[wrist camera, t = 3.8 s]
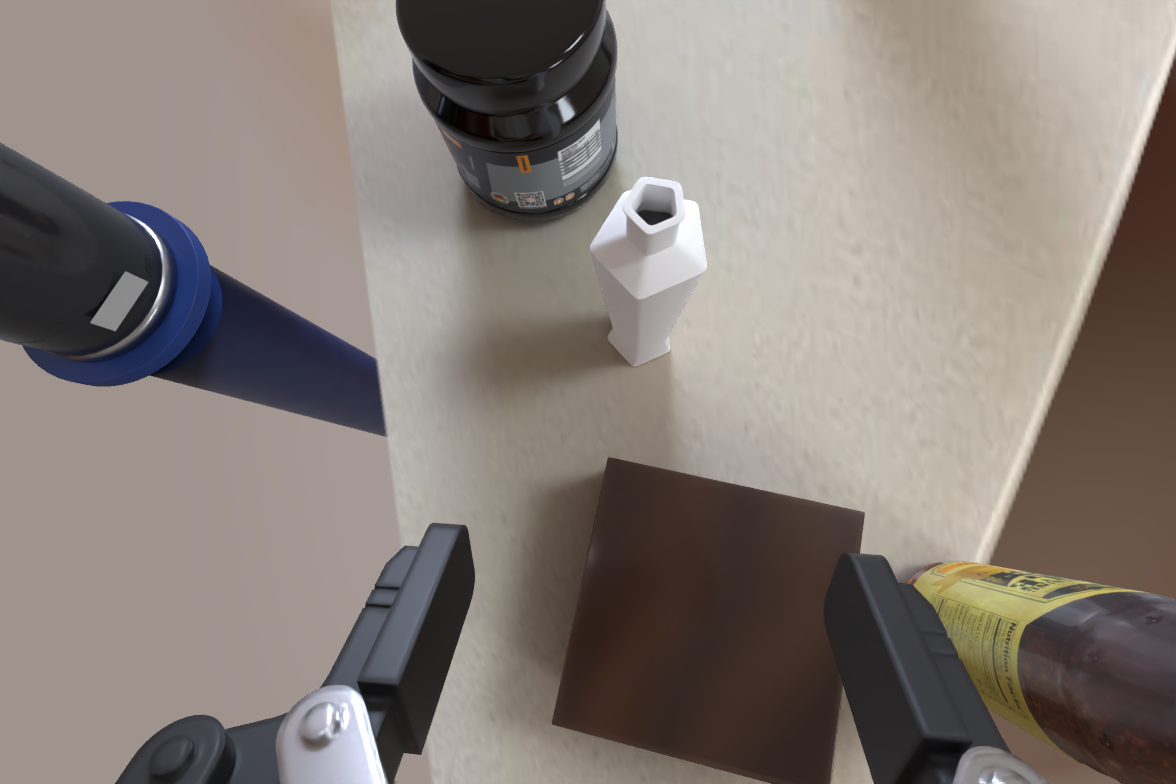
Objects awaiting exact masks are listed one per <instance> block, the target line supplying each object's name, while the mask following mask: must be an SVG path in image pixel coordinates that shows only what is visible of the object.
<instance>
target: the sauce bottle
mask: <svg viewBox="0 0 1176 784" xmlns="http://www.w3.org/2000/svg"><path fill="white" fill-rule="evenodd" d="M906 584H912V585H913V586H914V587H915V588H916V589H917V590H918V591H919V592H920V593H921V594H922V595H923V596H924V597H925V598H926V599H927V600H928V601H929V602H930V603H931V604H932V605H933V607H934V608H935V610H936V612H937V614H938V616H939V618H940V619H941V621H942V623H943V625H944V627H945V629H946V631H947V636H948V638H950V639H951V641H952V643H953V644H954V646H955V648H956V650H957V652H958V658H959V659H961V660H962V662H963V664H964V666H965V668H966V669H967V671H968V673H969V675H970V677H971V679H972V681H973V683H974V685H975V687H976V689H977V691H978V692H979V694H980V696H981V698H982V700H983V702H984V704H985V706H986V708H987V709H989V710H991V711H992V712H994V713H996V714H998V715H999V716H1001V717H1003V718H1004V719H1006V720H1008V721H1009V722H1011V723H1013V724H1015V725H1016V726H1018V727H1020V728H1021V729H1023V730H1025V731H1026V732H1028V733H1030V734H1032V735H1033V736H1035V737H1036V738H1038V739H1040V740H1042V741H1043V742H1045V743H1047V744H1049V745H1050V746H1052V747H1054V748H1055V749H1057V750H1059V751H1060V752H1062V753H1064V754H1066V755H1067V756H1069V757H1070V758H1072V759H1074V760H1076V761H1077V762H1080V763H1082V764H1085V765H1087V766H1089V767H1090V768H1092V769H1094V770H1096V771H1098V772H1100V773H1102V774H1105V775H1108V776H1110V777H1112V778H1114V779H1116V780H1117V781H1119V782H1120V783H1121V784H1176V600H1175V599H1172V598H1170V597H1166V596H1162V595H1158V594H1153V593H1147V592H1141V591H1136V590H1130V589H1125V588H1119V587H1113V586H1107V585H1101V584H1095V583H1089V582H1084V581H1080V580H1074V579H1068V578H1061V577H1055V576H1050V575H1043V574H1036V573H1031V572H1025V571H1021V570H1015V569H1009V568H1003V567H997V566H991V565H985V564H979V563H973V562H966V561H954V562H948V563H934V564H930V565H928V566H927V567H925V568H924V569H922V570H920V571H918V572H917V573H916V574H915V575H914V576H912V578H911V579H910V580H909V581H908V582H907V583H906Z"/></svg>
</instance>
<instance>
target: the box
mask: <svg viewBox="0 0 1176 784" xmlns="http://www.w3.org/2000/svg"><path fill="white" fill-rule="evenodd" d="M864 515H865V513H864V512H861V511H856V510H851V509H847V508H842V507H838V506H833V505H828V504H824V503H819V502H814V501H810V500H805V499H800V498H796V497H791V496H787V495H782V494H777V493H773V492H768V491H763V490H759V489H754V488H750V487H745V486H740V485H736V484H731V483H726V482H722V481H717V480H712V479H708V478H703V477H699V476H694V475H689V474H685V473H680V472H675V471H671V470H666V469H661V468H657V467H652V466H648V465H643V464H638V463H634V462H629V461H624V460H620V459H615V458H611V457H608V460H607V465H606V470H605V474H604V479H603V484H602V488H601V493H600V498H599V503H598V507H597V512H596V517H595V522H594V526H593V531H592V536H591V540H590V545H589V550H588V555H587V559H586V564H585V569H584V574H583V578H582V583H581V588H580V592H579V597H578V602H577V607H576V611H575V616H574V621H573V626H572V630H571V635H570V640H569V644H568V649H567V654H566V659H565V663H564V668H563V673H562V677H561V682H560V687H559V692H558V696H557V701H556V706H555V711H554V715H553V720H552V724H553V725H556V726H560V727H564V728H567V729H571V730H575V731H578V732H582V733H586V734H590V735H593V736H597V737H601V738H605V739H608V740H612V741H616V742H619V743H623V744H627V745H631V746H634V747H638V748H642V749H645V750H649V751H653V752H657V753H660V754H664V755H668V756H671V757H675V758H679V759H683V760H686V761H690V762H694V763H697V764H701V765H705V766H709V767H712V768H716V769H720V770H723V771H727V772H731V773H735V774H738V775H742V776H746V777H749V778H753V779H757V780H761V781H764V782H768V783H772V784H831V779H832V771H833V763H834V755H835V747H836V739H837V731H838V723H839V715H840V707H841V699H842V691H843V683H842V679H841V676H840V673H839V670H838V667H837V663H836V660H835V657H834V654H833V651H832V647H831V644H830V641H829V638H828V635H827V631H826V628H825V622H824V600H825V597H826V594H827V591H828V588H829V585H830V582H831V580H832V577H833V574H834V571H835V568H836V565H837V563H838V560H839V557H840V556H841V554H842V553H856V554H860V547H861V539H862V531H863V523H864Z"/></svg>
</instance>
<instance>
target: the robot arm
mask: <svg viewBox="0 0 1176 784" xmlns="http://www.w3.org/2000/svg"><path fill="white" fill-rule="evenodd" d="M177 278H178V273H177V264H176V260H175V257H174V254H173V251H172V249H171V247H170V246H169V244H168V242H167V241H166V240H165V238H164V237H163V236H162V235H161V234H160V233H158V232H157V231H156V230H155V229H153V228H152V227H150V226H148V225H147V224H145V223H143V222H141V221H140V220H138V219H136V218H134V217H132V216H130V215H127V214H124V213H122V212H121V211H119V210H117V209H115V208H114V207H112V206H110V205H108V204H107V203H105V202H103V201H101V200H100V199H98V198H96V197H94V196H93V195H91V194H89V193H88V192H86V191H84V190H83V189H81V188H79V187H77V186H76V185H74V184H72V183H70V182H68V181H67V180H65V179H63V178H62V177H60V176H57V175H56V174H55V173H53V172H51V171H49V170H48V169H46V168H44V167H42V166H41V165H39V164H37V163H35V162H33V161H32V160H30V159H28V158H26V157H25V156H23V155H21V154H20V153H18V152H16V151H14V150H13V149H11V148H9V147H7V146H5V145H4V144H2V143H0V340H4V341H8V342H12V343H15V344H20V345H23V346H27V347H31V348H35V349H39V350H43V351H45V352H47V353H50V354H52V355H56V356H59V357H63V358H67V359H71V360H75V361H81V362H99V361H105V360H110V359H113V358H116V357H119V356H121V355H124V354H126V353H128V352H130V351H131V350H133V349H135V348H136V347H138V346H139V345H141V344H142V343H143V342H144V341H146V340H147V339H148V338H149V337H150V336H151V335H152V334H153V333H154V332H155V331H156V330H157V328H158V327H159V326H160V324H161V323H162V322H163V320H164V319H165V317H166V315H167V314H168V312H169V310H170V308H171V305H172V303H173V300H174V297H175V293H176V288H177ZM474 583H475V570H474V564H473V558H472V552H471V546H470V539H469V533H468V529H467V527H466V525H456V524H442V523H432V524H430V525H429V527H428V528H427V530H426V532H425V535H424V537H423V539H422V541H421V543H420V545H419V547H416V546H404V547H403V548H402V549H401V550H400V551H399V552H398V553H397V554H396V555H395V556H394V557H393V558H391V559H390V560H389V562H387V563H386V565H385V567H384V569H383V570H382V572H381V574H380V576H379V578H378V580H377V582H376V584H375V589H374V590H372V592H371V594H370V596H369V598H368V600H367V602H366V606H365V608H363V609H362V611H361V613H360V615H359V617H358V620H357V621H356V623H355V625H354V627H353V629H352V631H351V633H350V635H349V637H348V638H347V640H346V642H345V644H344V646H343V648H342V650H341V652H340V654H339V656H338V658H337V660H336V662H335V664H334V665H333V667H332V669H331V671H330V673H329V676H328V677H327V678H326V680H325V682H324V683H323V684H322V686H321V687H320V688H319V689H318V690H315V691H313V692H311V693H310V694H308V695H307V696H305V697H304V698H302V699H301V700H300V701H299V702H298V703H297V704H296V705H294V707H293V708H292V709H291V710H290V711H289V712H287V713H285V714H283V715H280V716H277V717H274V718H270V719H266V720H262V721H257V722H254V723H250V724H245V725H241V726H237V727H233V728H229V729H224V727H223V726H222V725H221V723H220V722H219V721H218V720H217V719H216V718H214V717H211V716H208V715H194V716H189V717H186V718H183V719H180V720H178V721H175V722H173V723H171V724H169V725H168V726H166V727H164V728H163V729H161V730H160V731H159V732H157V733H156V734H155V735H153V736H152V737H151V738H150V739H149V740H148V741H147V742H145V744H144V745H143V746H142V747H141V748H140V749H139V750H138V751H137V753H136V754H135V755H134V757H133V758H132V759H131V761H130V762H129V764H128V765H127V767H126V768H125V770H124V771H123V773H122V774H121V776H120V777H119V779H118V780H117V782H116V783H115V784H396V782H395V776H396V773H397V770H398V767H399V764H400V762H401V759H402V756H403V753H409V754H419V755H421V754H422V750H423V747H424V744H425V741H426V738H427V735H428V732H429V729H430V726H431V723H432V720H433V717H434V713H435V710H436V707H437V704H438V701H439V698H440V695H441V692H442V689H443V686H444V683H445V680H446V676H447V673H448V670H449V667H450V664H451V661H452V658H453V655H454V652H455V649H456V646H457V643H458V639H459V636H460V633H461V630H462V627H463V624H464V621H465V618H466V615H467V612H468V609H469V606H470V602H471V599H472V595H473V590H474ZM824 622H825V628H826V631H827V635H828V638H829V641H830V644H831V647H832V651H833V654H834V657H835V660H836V663H837V667H838V670H839V673H840V676H841V679H842V683H843V686H844V689H845V692H846V696H847V699H848V702H849V705H850V708H851V712H852V715H853V718H854V721H855V724H856V728H857V731H858V734H859V737H860V740H861V744H862V747H863V750H864V753H865V756H866V760H867V763H868V766H869V769H870V773H871V776H872V779H873V782H874V784H1048V782H1047V781H1046V780H1045V779H1044V778H1043V777H1042V776H1041V775H1040V774H1039V773H1038V772H1037V771H1036V770H1034V769H1033V768H1032V767H1031V766H1030V765H1029V764H1027V763H1026V762H1024V761H1023V760H1021V759H1020V758H1018V757H1016V756H1014V755H1013V754H1012V753H1011V751H1010V750H1009V749H1008V747H1007V745H1006V744H1005V742H1004V740H1003V739H1002V737H1001V735H1000V733H999V731H998V729H997V727H996V725H995V723H994V721H993V719H992V718H991V716H990V714H989V712H988V710H987V708H986V706H985V704H984V702H983V700H982V698H981V696H980V694H979V692H978V691H977V689H976V687H975V685H974V683H973V681H972V679H971V677H970V675H969V673H968V671H967V669H966V668H965V666H964V664H963V662H962V660H961V659H959V658H958V652H957V650H956V648H955V646H954V644H953V643H952V641H951V639H950V638H948V636H947V631H946V629H945V627H944V625H943V623H942V621H941V619H940V618H939V616H938V614H937V612H936V610H935V608H934V607H933V605H932V604H931V603H930V602H929V601H928V600H927V599H926V598H925V597H924V596H923V595H922V594H921V593H920V592H919V591H918V590H917V589H916V588H915V587H914V586H913V585H912V584H903V583H898V582H897V580H896V578H895V575H894V573H893V571H892V569H891V567H890V565H889V563H888V561H887V560H886V558H885V557H883V556H882V555H871V554H856V553H842V554H841V556H840V557H839V560H838V563H837V565H836V568H835V571H834V574H833V577H832V580H831V582H830V585H829V588H828V591H827V594H826V597H825V600H824Z"/></svg>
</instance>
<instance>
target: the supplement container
mask: <svg viewBox="0 0 1176 784" xmlns="http://www.w3.org/2000/svg"><path fill="white" fill-rule="evenodd" d="M396 16H397V21H398V25H399V28H400V31H401V34H402V36H403V38H404V41H405V43H406V45H407V47H408V49H409V51H410V53H411V55H412V65H413V75H414V80H415V84H416V87H417V90H418V93H419V95H420V97H421V100H422V102H423V104H424V106H425V107H426V109H427V110H428V112H429V114H430V115H431V116H432V117H433V119H434V120H435V122H436V124H437V126H438V128H439V130H440V132H441V134H442V136H443V138H444V140H445V142H446V144H447V146H448V148H449V150H450V152H451V154H452V156H453V158H454V160H455V162H456V165H457V168H458V171H459V173H460V175H461V177H462V179H463V181H464V183H465V184H466V186H467V187H468V189H469V190H470V191H471V193H472V194H473V195H474V196H475V197H476V198H477V199H478V200H479V201H480V202H481V203H483V204H484V205H485V206H487V207H488V208H490V209H491V210H493V211H495V212H497V213H499V214H501V215H504V216H506V217H510V218H514V219H518V220H524V221H542V220H549V219H553V218H558V217H561V216H563V215H566V214H568V213H571V212H573V211H575V210H576V209H578V208H580V207H581V206H583V205H584V204H585V203H587V202H588V201H589V200H590V199H591V198H592V197H594V196H595V194H596V193H597V192H598V191H599V190H600V189H601V187H602V186H603V185H604V183H605V182H606V180H607V178H608V177H609V175H610V172H611V170H612V168H613V165H614V162H615V158H616V153H617V144H618V135H617V125H616V93H615V73H616V68H617V39H616V33H615V29H614V25H613V22H612V20H611V17H610V15H609V12H608V11H607V9H606V0H396Z"/></svg>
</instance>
